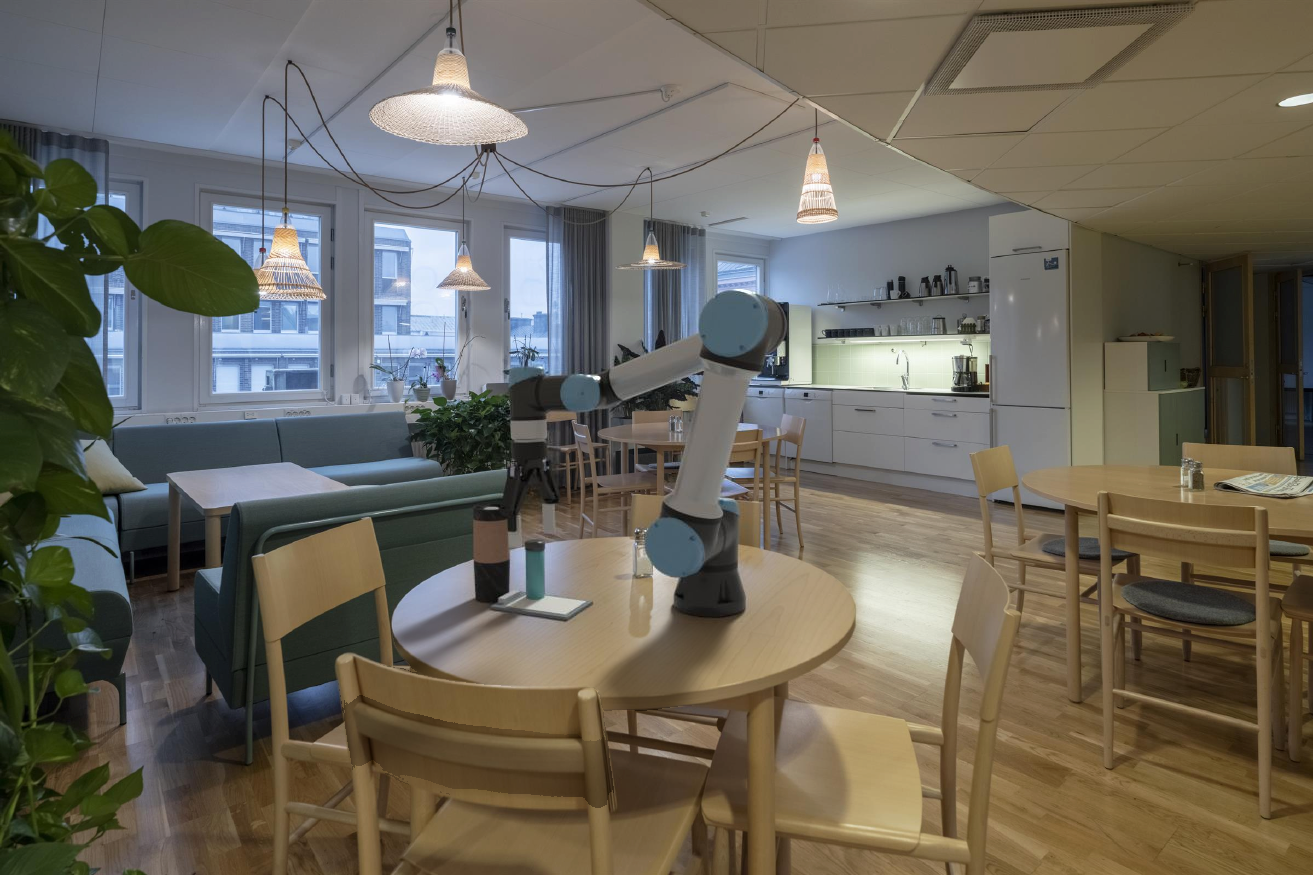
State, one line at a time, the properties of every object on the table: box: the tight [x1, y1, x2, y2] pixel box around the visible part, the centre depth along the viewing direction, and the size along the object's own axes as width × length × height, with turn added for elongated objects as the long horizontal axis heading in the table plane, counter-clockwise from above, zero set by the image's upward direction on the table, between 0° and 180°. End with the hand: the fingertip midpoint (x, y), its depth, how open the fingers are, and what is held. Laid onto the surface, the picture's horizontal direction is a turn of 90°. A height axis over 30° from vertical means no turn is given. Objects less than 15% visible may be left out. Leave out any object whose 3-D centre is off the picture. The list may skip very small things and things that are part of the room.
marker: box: [524, 538, 546, 600], centre depth 156 cm, size 4×4×12 cm
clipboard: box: [490, 589, 594, 621], centre depth 153 cm, size 18×11×2 cm, turn 68°
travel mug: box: [472, 502, 511, 604], centre depth 157 cm, size 8×8×20 cm
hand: (533, 539), depth 156 cm, fingers open, 13 cm apart
